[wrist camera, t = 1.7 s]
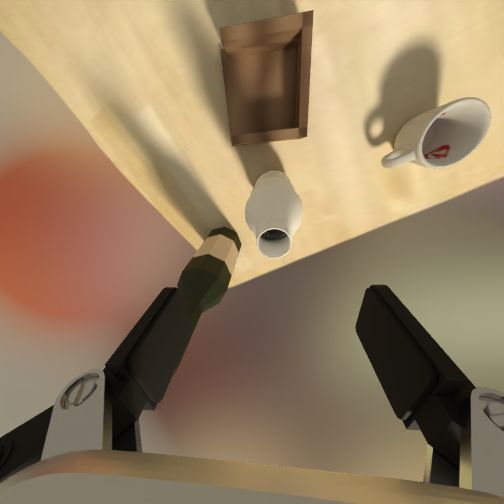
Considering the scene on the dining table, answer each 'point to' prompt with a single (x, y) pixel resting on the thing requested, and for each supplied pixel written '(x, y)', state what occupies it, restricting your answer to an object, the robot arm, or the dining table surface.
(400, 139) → the cup
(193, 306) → the wine bottle
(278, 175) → the water bottle
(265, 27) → the open wooden box
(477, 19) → the dining table surface
